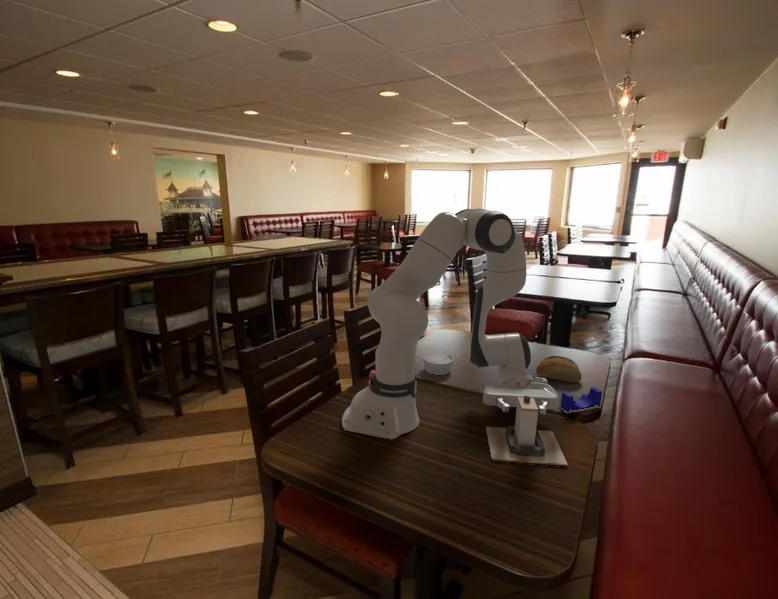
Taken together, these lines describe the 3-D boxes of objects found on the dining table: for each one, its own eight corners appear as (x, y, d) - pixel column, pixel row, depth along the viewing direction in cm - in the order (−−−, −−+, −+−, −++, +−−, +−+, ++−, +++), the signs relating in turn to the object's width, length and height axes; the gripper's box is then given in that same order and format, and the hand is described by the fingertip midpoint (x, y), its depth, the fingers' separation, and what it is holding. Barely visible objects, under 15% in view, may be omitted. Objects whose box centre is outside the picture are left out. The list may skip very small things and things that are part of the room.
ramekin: (454, 377, 146) (455, 364, 144) (423, 377, 146) (424, 363, 144) (450, 364, 156) (451, 352, 155) (421, 364, 157) (422, 351, 155)
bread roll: (535, 370, 151) (537, 350, 149) (579, 376, 147) (581, 356, 144) (535, 381, 143) (537, 360, 141) (581, 388, 138) (584, 366, 136)
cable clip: (588, 401, 129) (591, 384, 127) (599, 408, 125) (602, 391, 123) (556, 407, 126) (559, 389, 124) (566, 414, 122) (569, 396, 120)
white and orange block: (517, 449, 103) (521, 404, 100) (514, 437, 109) (518, 393, 105) (533, 451, 103) (538, 405, 100) (529, 438, 108) (533, 394, 105)
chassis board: (491, 460, 100) (492, 451, 100) (485, 429, 114) (486, 420, 113) (567, 467, 98) (568, 457, 98) (552, 433, 112) (553, 424, 111)
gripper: (480, 374, 120) (485, 397, 107) (552, 378, 118) (565, 402, 104) (479, 394, 122) (483, 418, 109) (549, 398, 119) (563, 424, 106)
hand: (524, 411), depth 107 cm, fingers open, 8 cm apart
